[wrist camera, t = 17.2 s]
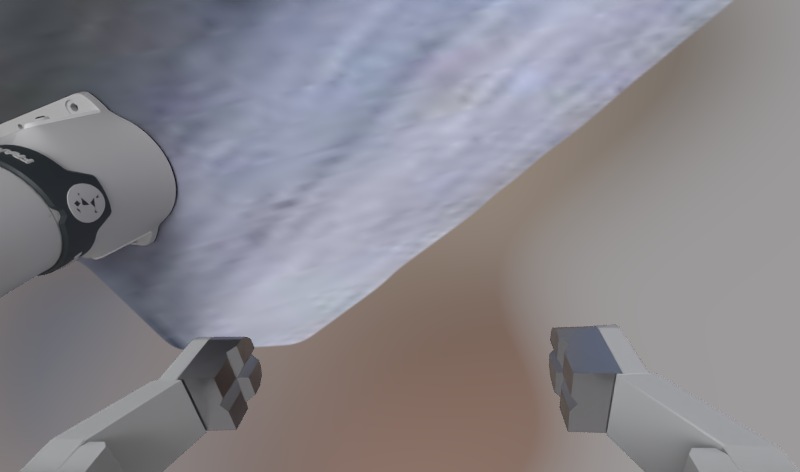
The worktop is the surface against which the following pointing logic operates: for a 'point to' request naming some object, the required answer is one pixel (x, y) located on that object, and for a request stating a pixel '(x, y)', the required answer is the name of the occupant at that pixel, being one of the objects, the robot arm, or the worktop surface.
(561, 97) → the worktop surface
